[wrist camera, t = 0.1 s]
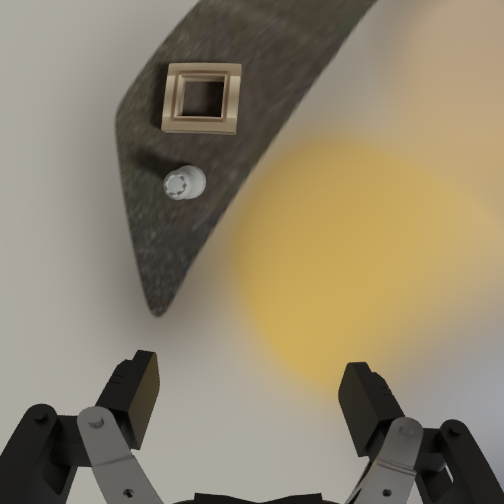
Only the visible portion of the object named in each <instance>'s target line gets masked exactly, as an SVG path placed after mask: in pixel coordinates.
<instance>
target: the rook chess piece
mask: <svg viewBox="0 0 504 504" xmlns="http://www.w3.org/2000/svg"><path fill="white" fill-rule="evenodd" d="M205 184H206V179H205V175H204V173H203V172H202V170H201V169H199V168H198V167H196V166H193V165H186V166H182V167H180V168H179V169H177V170H175V171H172V172H170V173H169V174H167V176H166V177H165V179H164V183H163V187H164V191H165V193H166V194H167V196H169V197H170V198H172V199H175V200H180V199H191V198H196V197H197V196H199V195H200V194H201V193H202V192H203V190H204V189H205Z"/></svg>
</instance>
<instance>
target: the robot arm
mask: <svg viewBox="0 0 504 504" xmlns="http://www.w3.org/2000/svg"><path fill="white" fill-rule="evenodd" d="M159 379H160V378H159V370H158V362H157V355H156V353H155V352H150V351H143V350H138V351H137V352H136V354H135V356H134V358H133V360H126V359H125V360H124V361H123V362H121V363H120V364H119V365H117V367H116V368H115V370H114V372H113V374H112V376H111V377H110V379H109V382H107V384H106V386H105V388H104V390H103V391H102V394H101V395H100V397H99V399H98V401H97V402H96V405H95V406H93V407H88V408H86V409H84V410H82V411H81V412H80V414H79V415H78V416H65V415H57V413H56V411H55V410H54V408H53V407H51V406H49V405H47V404H37V405H34V406H32V407H30V408H29V409H28V410H27V411H26V413H25V414H24V416H23V418H22V419H21V421H20V423H19V424H18V426H17V427H16V429H15V431H14V433H13V434H12V436H11V438H10V440H9V441H8V443H7V445H6V447H5V449H4V450H3V452H2V454H1V456H0V504H66V501H67V498H68V495H69V492H70V488H71V485H72V482H73V480H74V477H75V474H76V471H77V468H78V466H79V467H91V468H92V471H93V473H94V476H95V478H96V481H97V483H98V485H99V488H100V490H101V492H102V494H103V496H104V498H105V500H106V502H107V504H164V503H163V502H162V500H161V499H160V497H159V496H158V494H157V493H156V491H155V489H154V488H153V486H152V485H151V483H150V481H149V480H148V478H147V477H146V475H145V473H144V472H143V470H142V468H141V466H140V465H139V463H138V461H137V459H136V458H135V456H134V455H132V453H131V451H130V450H131V449H136V450H140V448H141V444H142V441H143V438H144V435H145V432H146V429H147V426H148V423H149V420H150V417H151V413H152V411H153V408H154V405H155V402H156V398H157V396H158V393H159V386H160V380H159ZM338 399H339V403H340V405H341V408H342V412H343V414H344V417H345V420H346V423H347V425H348V428H349V431H350V434H351V437H352V440H353V443H354V446H355V449H356V451H357V454H358V457H363V456H368V457H369V459H370V460H369V462H368V463H367V465H366V467H365V469H364V471H363V473H362V475H361V477H360V479H359V481H358V482H357V484H356V486H355V488H354V490H353V491H352V493H351V495H350V496H349V498H348V499H347V501H346V502H345V504H406V502H407V500H408V497H409V494H410V491H411V489H412V486H413V483H414V480H415V482H416V484H417V487H418V490H419V493H420V496H421V498H422V502H423V504H504V493H503V491H502V489H501V487H500V485H499V483H498V481H497V479H496V477H495V475H494V473H493V471H492V469H491V468H490V466H489V464H488V462H487V460H486V459H485V457H484V455H483V453H482V452H481V450H480V448H479V446H478V445H477V443H476V441H475V440H474V438H473V436H472V435H471V433H470V431H469V430H468V428H467V427H466V425H465V424H464V423H462V422H461V421H458V420H454V419H451V420H447V421H445V422H444V423H443V424H442V426H441V427H440V428H439V429H433V428H422V426H421V424H420V423H419V422H418V421H416V420H415V419H412V418H409V417H405V415H404V413H403V411H402V410H401V408H400V406H399V404H398V402H397V401H396V399H395V397H394V395H392V392H391V390H390V389H389V387H388V385H387V383H386V381H385V380H384V379H383V378H382V377H381V376H380V375H378V374H377V373H376V372H371V370H370V368H369V366H368V364H367V363H366V362H352V363H351V362H350V363H348V364H347V366H346V369H345V372H344V375H343V378H342V381H341V384H340V387H339V392H338ZM446 465H447V466H448V468H449V470H450V472H451V474H452V477H453V483H452V481H451V479H450V476H449V474H448V472H447V470H446V468H445V466H446ZM174 504H339V503H335V502H331V501H326V500H322V495H321V493H317V494H307V495H295V496H288V497H284V498H280V499H276V500H273V501H268V502H263V503H256V502H251V501H247V500H242V499H238V498H234V497H230V496H225V495H212V494H202V493H195V496H194V500H186V501H181V502H177V503H174Z"/></svg>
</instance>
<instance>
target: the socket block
mask: <svg viewBox="0 0 504 504" xmlns="http://www.w3.org/2000/svg"><path fill="white" fill-rule="evenodd" d="M240 81H241V64H230V63H173V64H169V69H168V76H167V83H166V90H165V99H164V107H163V117H162V127H161V130H162V131H165V132H167V133H209V134H230V135H235V134H236V123H237V112H238V101H239V91H240ZM186 82H225V84H224V93H223V103H222V113H221V117H196V116H182V109H183V100H184V91H185V83H186Z"/></svg>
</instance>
